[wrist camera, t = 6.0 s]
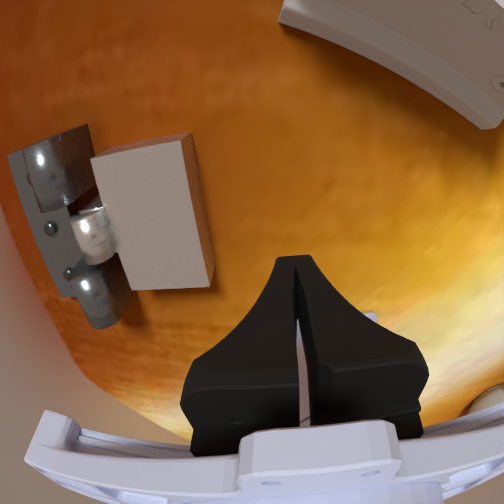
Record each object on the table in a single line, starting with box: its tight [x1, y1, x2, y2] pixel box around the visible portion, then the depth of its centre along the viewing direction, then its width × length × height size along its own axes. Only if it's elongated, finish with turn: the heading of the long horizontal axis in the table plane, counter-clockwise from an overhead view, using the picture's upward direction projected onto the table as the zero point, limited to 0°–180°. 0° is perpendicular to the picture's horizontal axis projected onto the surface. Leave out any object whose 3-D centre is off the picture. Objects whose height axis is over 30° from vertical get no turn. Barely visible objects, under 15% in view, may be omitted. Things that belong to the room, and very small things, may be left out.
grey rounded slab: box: [279, 0, 504, 130], centre depth 10 cm, size 17×5×10 cm, turn 71°
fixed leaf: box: [7, 124, 135, 329], centre depth 20 cm, size 14×8×5 cm, turn 6°
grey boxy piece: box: [69, 132, 215, 290], centre depth 20 cm, size 10×9×5 cm
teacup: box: [467, 384, 504, 415], centre depth 31 cm, size 14×11×8 cm
